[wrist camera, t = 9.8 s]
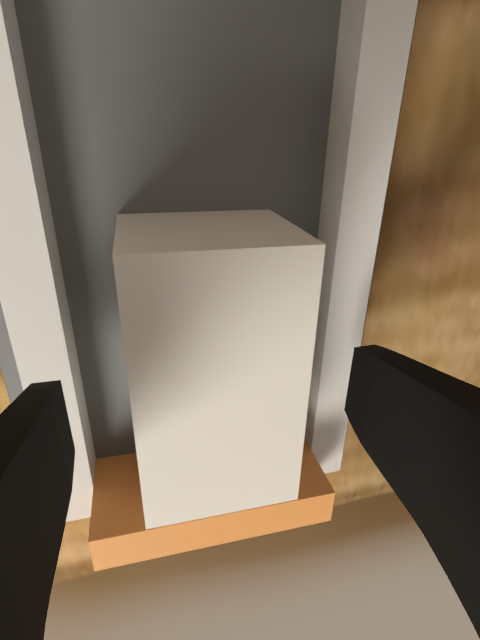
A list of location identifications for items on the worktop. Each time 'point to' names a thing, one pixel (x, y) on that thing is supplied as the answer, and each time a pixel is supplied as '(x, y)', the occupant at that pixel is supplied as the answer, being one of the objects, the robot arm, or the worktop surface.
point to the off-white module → (217, 356)
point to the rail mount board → (185, 204)
